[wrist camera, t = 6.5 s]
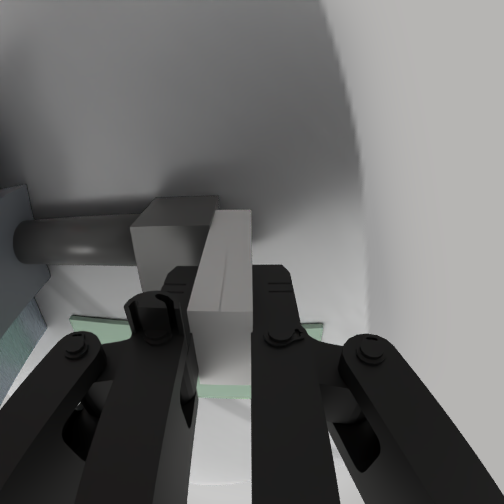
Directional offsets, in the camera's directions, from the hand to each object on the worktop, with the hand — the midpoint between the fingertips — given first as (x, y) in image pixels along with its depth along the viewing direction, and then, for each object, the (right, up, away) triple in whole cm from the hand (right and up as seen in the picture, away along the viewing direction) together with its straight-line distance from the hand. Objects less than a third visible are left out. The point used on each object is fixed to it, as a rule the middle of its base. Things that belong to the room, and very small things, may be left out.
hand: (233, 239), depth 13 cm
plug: (-9, +1, +1) cm, 9 cm away
